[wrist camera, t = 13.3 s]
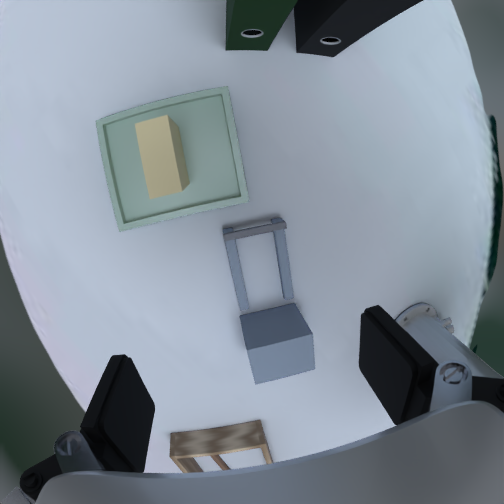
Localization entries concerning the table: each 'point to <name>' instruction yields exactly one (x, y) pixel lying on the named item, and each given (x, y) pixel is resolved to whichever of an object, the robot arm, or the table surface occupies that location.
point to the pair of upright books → (308, 22)
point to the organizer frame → (216, 443)
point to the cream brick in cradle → (162, 156)
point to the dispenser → (272, 316)
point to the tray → (195, 153)
